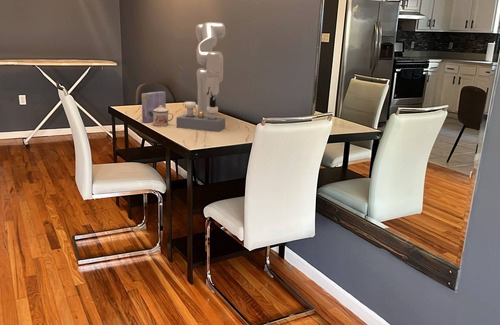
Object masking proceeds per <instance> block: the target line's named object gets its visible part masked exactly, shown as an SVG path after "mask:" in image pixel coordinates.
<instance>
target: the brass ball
mask: <svg viewBox="0 0 500 325" xmlns="http://www.w3.org/2000/svg"><path fill="white" fill-rule="evenodd" d="M197 112H198V111H197ZM198 118H204V112H203V111H199V112H198Z"/></svg>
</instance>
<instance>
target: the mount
mask: <svg viewBox="0 0 500 325" xmlns="http://www.w3.org/2000/svg"><path fill="white" fill-rule="evenodd" d="M176 128H178V129H185V130H186V129H187V130H195V131H196V130H197V131H198V130H199V131H205V132H217V133H219V132H221V131H222V130H224V129H226V117H217V116H215V120H210V119H209V117H208V116H204V118H198V115H195V114H193V118H190V117H187V113H185V114H181V115H179V116H176Z"/></svg>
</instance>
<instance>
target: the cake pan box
mask: <svg viewBox="0 0 500 325" xmlns="http://www.w3.org/2000/svg"><path fill="white" fill-rule="evenodd" d="M166 99H167V98H166V91H153V92H146V93H145V92H144V93H143V92H142V93H141V114H142V115H141V119H142V120H141V121H142V123H146V124H147V123H148V124H149V123H154V119H153V110H154V109H156V108H158V107H159V106H160V105H161V106H162V107H164V108H165V109H167V108H166Z"/></svg>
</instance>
